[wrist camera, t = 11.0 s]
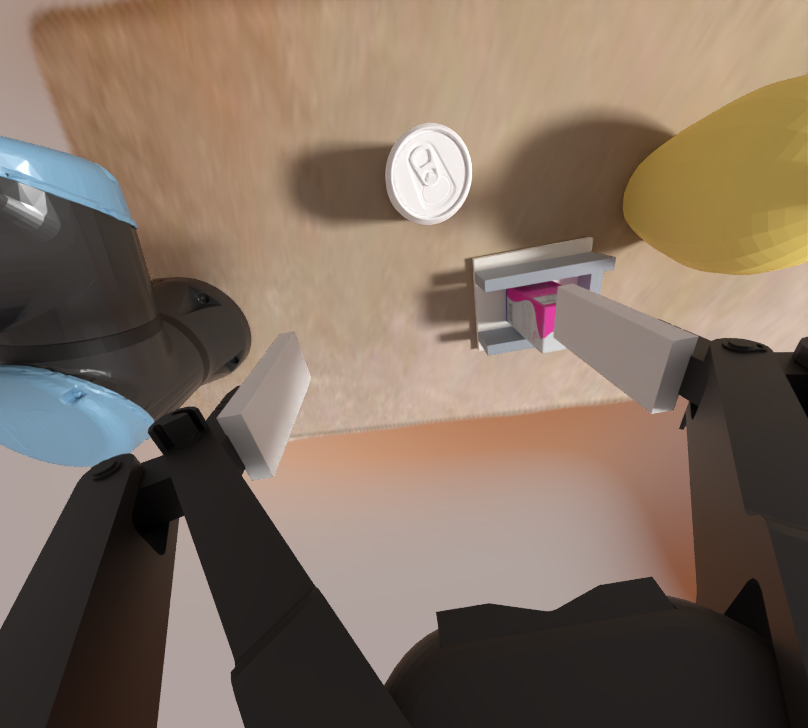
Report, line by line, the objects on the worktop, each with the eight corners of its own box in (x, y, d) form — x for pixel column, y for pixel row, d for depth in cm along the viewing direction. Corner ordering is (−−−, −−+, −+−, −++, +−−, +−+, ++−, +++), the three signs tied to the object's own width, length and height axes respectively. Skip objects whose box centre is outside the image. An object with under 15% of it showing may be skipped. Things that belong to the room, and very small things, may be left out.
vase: (673, 269, 44) (1038, 354, 19) (576, 238, 41) (853, 291, 17) (760, 137, 37) (1513, 4, 12) (649, 90, 34) (1318, -199, 10)
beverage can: (406, 232, 40) (412, 242, 30) (373, 168, 37) (367, 154, 26) (461, 198, 39) (489, 196, 28) (433, 128, 35) (452, 96, 24)
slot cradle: (477, 348, 49) (488, 366, 43) (472, 258, 42) (484, 266, 37) (578, 331, 48) (602, 347, 43) (588, 236, 41) (618, 241, 36)
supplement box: (544, 315, 45) (589, 347, 35) (505, 321, 46) (538, 355, 35) (547, 276, 43) (597, 299, 33) (505, 283, 43) (541, 307, 33)
